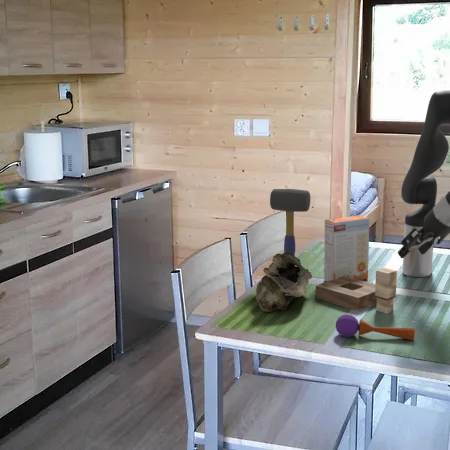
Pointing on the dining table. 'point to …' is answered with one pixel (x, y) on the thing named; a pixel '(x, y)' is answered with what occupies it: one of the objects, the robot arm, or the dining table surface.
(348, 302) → the seat board
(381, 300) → the beech leg
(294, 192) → the rubber mallet
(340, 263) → the cracker box
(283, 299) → the hollow geode rock
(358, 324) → the kendama
